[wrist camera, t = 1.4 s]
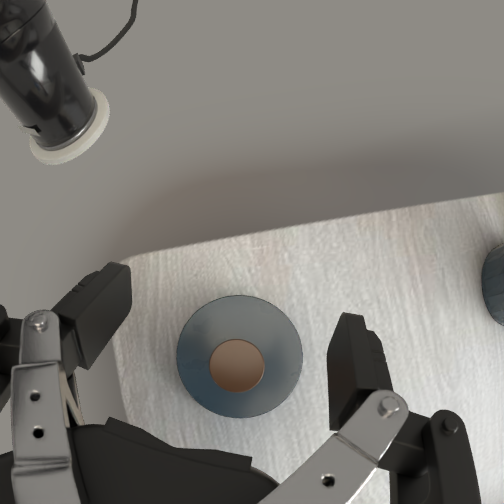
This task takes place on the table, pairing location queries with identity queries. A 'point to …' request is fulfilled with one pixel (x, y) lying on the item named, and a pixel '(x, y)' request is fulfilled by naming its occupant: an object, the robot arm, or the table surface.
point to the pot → (494, 283)
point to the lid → (239, 356)
